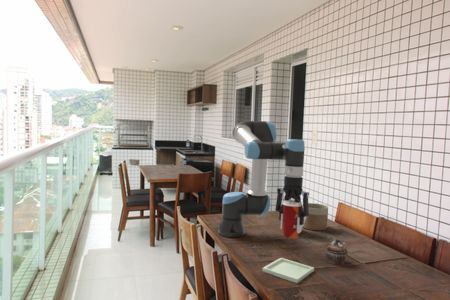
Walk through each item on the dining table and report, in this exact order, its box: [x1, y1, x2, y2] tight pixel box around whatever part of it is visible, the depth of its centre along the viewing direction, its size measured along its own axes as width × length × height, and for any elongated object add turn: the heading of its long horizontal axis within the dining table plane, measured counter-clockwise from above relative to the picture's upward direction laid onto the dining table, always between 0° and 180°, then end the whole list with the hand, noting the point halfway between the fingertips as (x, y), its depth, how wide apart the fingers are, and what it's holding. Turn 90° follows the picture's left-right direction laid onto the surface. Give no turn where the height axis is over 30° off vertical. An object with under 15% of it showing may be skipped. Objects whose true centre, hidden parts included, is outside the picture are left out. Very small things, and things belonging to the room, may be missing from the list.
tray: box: [262, 257, 315, 284], centre depth 144 cm, size 16×16×2 cm
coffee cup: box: [281, 198, 302, 239], centre depth 143 cm, size 8×8×15 cm
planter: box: [302, 202, 329, 232], centre depth 214 cm, size 16×16×14 cm
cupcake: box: [325, 238, 348, 266], centre depth 158 cm, size 10×10×10 cm
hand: (290, 230), depth 143 cm, fingers closed on coffee cup, 7 cm apart
